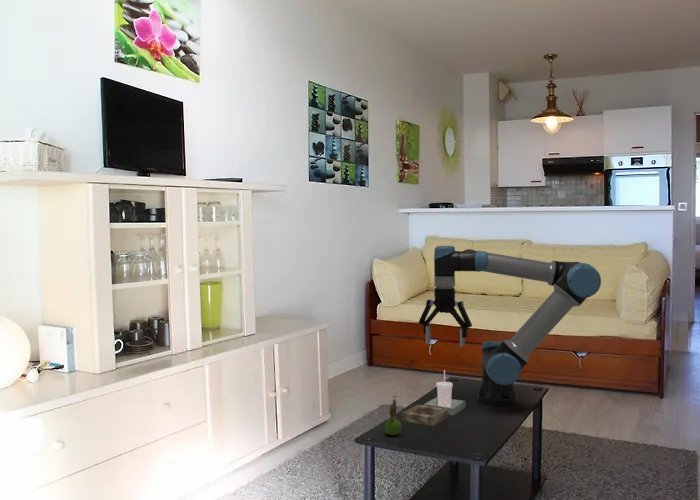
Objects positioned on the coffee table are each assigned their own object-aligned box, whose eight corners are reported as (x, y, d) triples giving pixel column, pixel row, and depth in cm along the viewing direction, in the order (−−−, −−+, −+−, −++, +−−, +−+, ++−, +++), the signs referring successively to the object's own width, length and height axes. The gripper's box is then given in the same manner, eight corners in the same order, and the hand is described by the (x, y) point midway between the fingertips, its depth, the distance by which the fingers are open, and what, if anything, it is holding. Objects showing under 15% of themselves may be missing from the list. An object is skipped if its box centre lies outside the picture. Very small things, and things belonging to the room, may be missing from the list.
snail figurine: (403, 431, 212) (402, 396, 211) (400, 438, 205) (400, 401, 205) (386, 430, 213) (386, 395, 212) (383, 437, 207) (383, 400, 206)
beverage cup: (433, 406, 239) (433, 369, 238) (447, 404, 241) (447, 367, 241) (441, 410, 233) (441, 372, 233) (456, 408, 236) (455, 371, 235)
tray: (465, 407, 239) (465, 400, 239) (453, 415, 229) (453, 408, 229) (436, 403, 245) (436, 396, 245) (423, 410, 235) (423, 404, 235)
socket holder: (447, 417, 227) (447, 409, 227) (433, 426, 217) (433, 417, 217) (417, 412, 233) (417, 404, 233) (402, 421, 223) (402, 412, 223)
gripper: (409, 287, 239) (410, 343, 240) (473, 289, 226) (473, 349, 226) (418, 285, 245) (418, 340, 246) (480, 288, 232) (480, 346, 233)
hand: (445, 344), depth 236 cm, fingers open, 13 cm apart
